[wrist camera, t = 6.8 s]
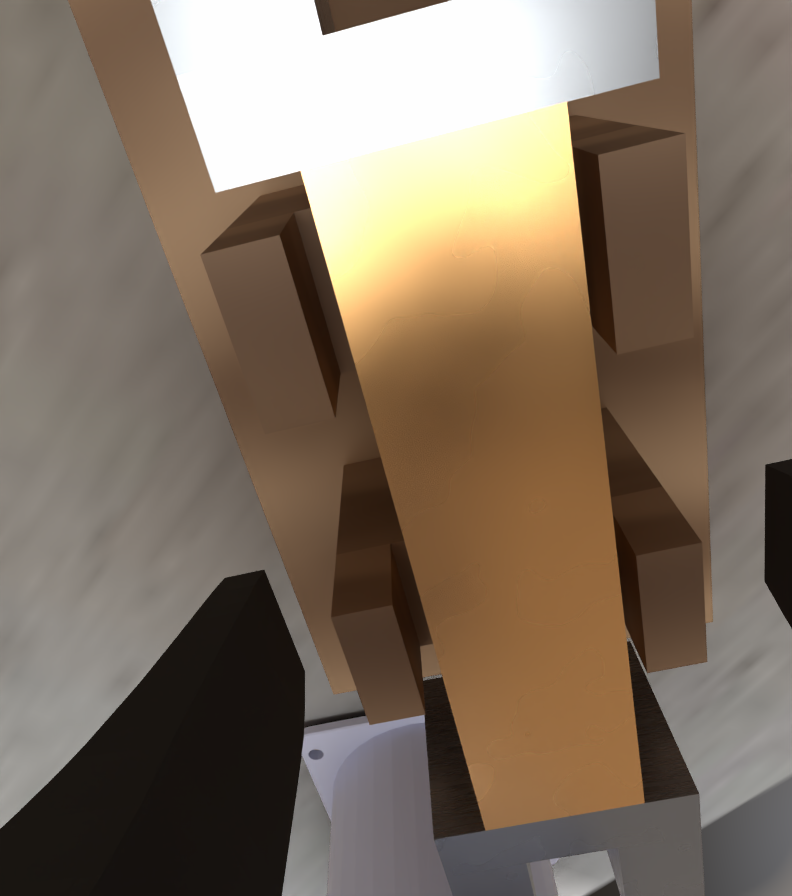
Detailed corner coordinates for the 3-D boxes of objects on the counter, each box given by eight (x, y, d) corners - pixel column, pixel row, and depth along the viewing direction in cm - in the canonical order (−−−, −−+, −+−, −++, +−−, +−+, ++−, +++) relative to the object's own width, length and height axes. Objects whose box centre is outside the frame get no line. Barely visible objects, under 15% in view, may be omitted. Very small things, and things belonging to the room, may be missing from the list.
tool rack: (699, 600, 22) (823, 798, 16) (335, 671, 23) (320, 883, 17) (663, -204, 13) (911, -451, 7) (72, -33, 14) (-157, -119, 8)
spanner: (641, 749, 18) (705, 910, 15) (452, 783, 19) (470, 947, 15) (535, -235, 9) (631, -428, 6) (179, -128, 10) (67, -247, 6)
